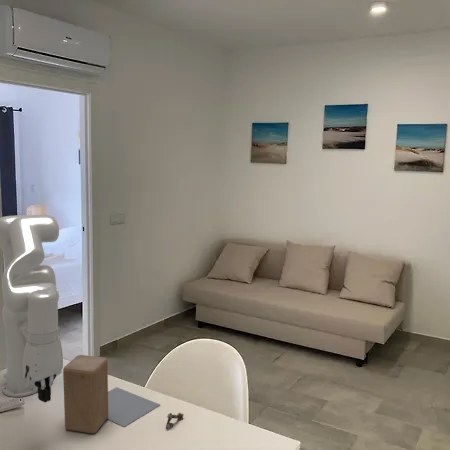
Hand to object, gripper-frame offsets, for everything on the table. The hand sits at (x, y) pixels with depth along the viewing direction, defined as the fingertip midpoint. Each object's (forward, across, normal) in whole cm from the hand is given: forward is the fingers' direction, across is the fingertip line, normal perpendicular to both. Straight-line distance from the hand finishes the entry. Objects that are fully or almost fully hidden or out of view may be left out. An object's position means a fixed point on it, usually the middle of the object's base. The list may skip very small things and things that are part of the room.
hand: (44, 399), depth 137 cm
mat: (+14, -29, 0) cm, 32 cm away
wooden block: (+14, -15, 0) cm, 21 cm away
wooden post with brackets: (+14, -31, +21) cm, 40 cm away
